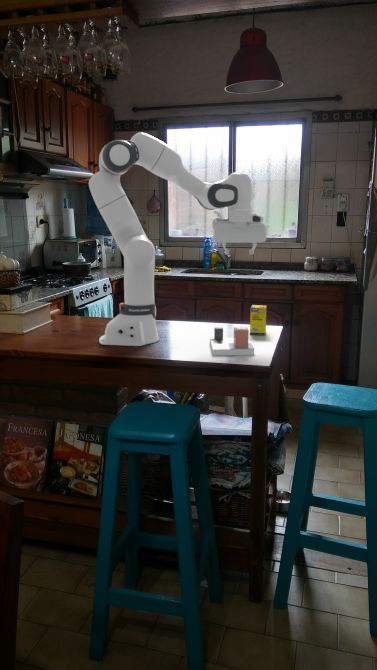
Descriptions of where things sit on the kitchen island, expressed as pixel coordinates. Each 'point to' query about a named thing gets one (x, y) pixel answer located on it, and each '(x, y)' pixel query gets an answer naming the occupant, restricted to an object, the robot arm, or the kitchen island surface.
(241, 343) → the cap
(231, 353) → the panel
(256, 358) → the kitchen island surface
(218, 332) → the breaker
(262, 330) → the supplement box
